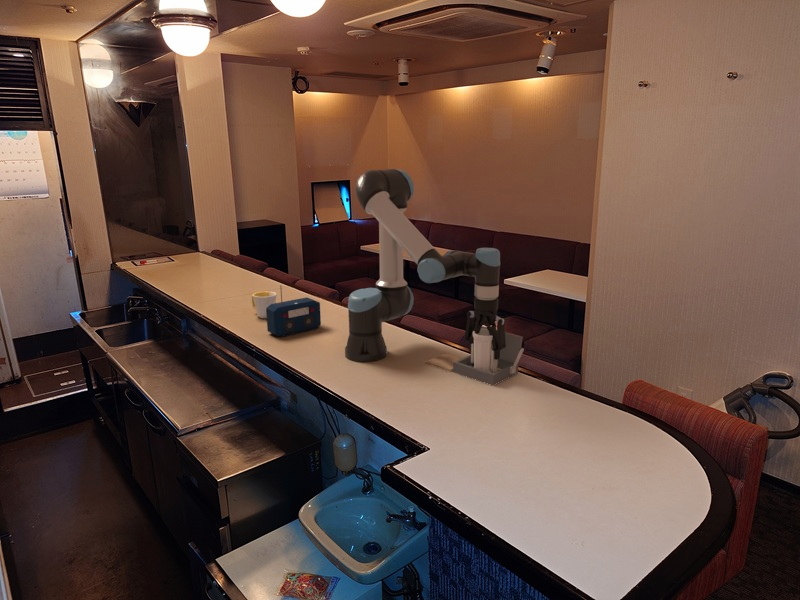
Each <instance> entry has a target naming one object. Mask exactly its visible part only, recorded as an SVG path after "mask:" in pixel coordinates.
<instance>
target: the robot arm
mask: <svg viewBox="0 0 800 600" xmlns="http://www.w3.org/2000/svg"><path fill="white" fill-rule="evenodd" d="M354 193H355V197H356V200H357V202H358V204H359V205H360V207H361V208H362V209H363V211H364V212H365V214H368V215H372V216H373V217H374V218H375V219H376V220H377V221H378V228H379V229H378V231H379V232H378V233H379V234H378V237H379V240H378V242H379V245H378V246H379V250H378V251H379V279H378V280H377V281H376V282H375V287H366V288H360V289H357V290H354V291H352V292H351V293H350V294H349V296H348V303H347V309H348V310H347V311H348V333H349V334H348V337H347V340H346V341H347V342H346V346H345V348H344V355H345V358H346V359H348V360H351V361H355V362H362V363H363V362H364V363H365V362H367V363H368V362H375V361H379V360H382V359H384V358H385V357H386V356H387V355H388V348H387V345H386V342H385V339H384V335H383V333H382V332H383V329H382V328H383V327H382V325H383V324H382V323H385V322H388V321H391V320H395V319H399V318H402V317H403V316H405V315H407V314H408V313H409V312H410V311H411V310H412V308H413V306H414V300H415V299H414V298H415V297H414V294H413V291H412V290H411V288H410V287H409V286H408V282H407V281H406V280H405V279H404V252H405V253H406V255H408V256H409V257H410V259H412V261H413V262H414V263H415V264H416V265H417V273H418V277H419V279H420V280H421V281H422V282H424V283H426V284H433V283H434V284H435V283H440V282H441V281H444V280H449V279H452V278H456V277H460V276H465V277H466V276H467V277H472V278H474V300H473V301H474V302H473V304H474V305H473V307H474V310H469V311H467V312H466V318H467V319H466V324H465V325H466V326H465V333H464V340H465V341H468V343H469V352H470V355H471V363H474V338H473V331H475V334H478V333H479V332H480V330H481V327H482V326H483V327H487V330H489V334H490V336H491V335H492V336H493V338H492V345H493V349H492V350H491V368H490V369H493V370H495V369H497V368H496V367H497V362H498V359H499V358H500V350H501V349H504V348H506V341H505V332H506V329H505V328H506V327H505V325H506V321H507V320H506V318H505V317H503V318H502V317H500V316H499V315H498V309H499V298H498V297H499V291H500V290H499V289H500V270H501V269H500V268H501V252H500V250H499V249H497V248H494V247H480V248H479V247H478V248H477V249H476V251H475V253H474V252H467V251H461V250H458V249H457V250H451V249H449V250H447V251H446V252H445V253H444V254H443V255H442V254H441V253H440V252H439V251H438V250H437V249H436V248H435V247H434V246H433V245H432V244H431V243H430V241H428V239H427V238H426V237H425V236H424V234H422V233H421V232H420V231H419V230H418V228H416V226H415V225H414V224H413V223H412V222H411V221H410V220H409V219H408V217H406V215H405V214H404V213H405V212H406V211H407V210H408V202H409V201H410V200H411V199H412V197H413V196H414V193H415V186H414V181H413V179H412V177H411V176H410V175H409V173H407V172H406V171H405V170H403V169H395V168H387V169H386V168H385V169H369V170H367V171H365V172H363V173H361V174H360V176H359V177H358V178H357V180H356V183H355V187H354ZM475 319H476V320H475Z"/></svg>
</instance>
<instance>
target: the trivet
mask: <svg viewBox="0 0 800 600" xmlns="http://www.w3.org/2000/svg"><path fill="white" fill-rule="evenodd" d="M462 358H463V357H462ZM462 358H461V357H458V356H455V355H452V354H448V353H443V354H440V355H438V356H435V357H433V358H430V359H428V360H426V361H425V360H424V363H425V364H426V365H430V366H432V367H436V368H439V369H440V370H444V371H447V372H453V362H455V361H457V360H460V359H462Z"/></svg>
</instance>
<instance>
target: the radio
mask: <svg viewBox="0 0 800 600" xmlns="http://www.w3.org/2000/svg"><path fill="white" fill-rule="evenodd" d="M279 287H280V299H281V300H280V301H281V302H276V303H274V304H271V305H269V306H268V307H267V308H266V315H267V318H266V326H267V332H269V333H270V334H272V335H275V336H276V337H279V338H283V337H287V336H291V335H296V334H300V333H304V331H305V332H308V330H309V331H313V330H317V329H318V328H319V327H320V326H321V325H322V322H321V321H322V320H321V303H320V302H319V301H318V300H315V299H312V298H309V297H302V298H296V299H291V300H285V301H283V294H282V293H283V292H282V284H280V285H279ZM316 328H317V329H316ZM312 329H313V330H312Z"/></svg>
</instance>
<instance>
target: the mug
mask: <svg viewBox="0 0 800 600" xmlns="http://www.w3.org/2000/svg"><path fill="white" fill-rule="evenodd" d="M274 303H277V292H274V291H257V292H254V293H253V294H252V296H251V304H252V309H254V310H255V313H256V315H257V316H258V318H260V319H267V315H266V308H267V307H268V306H269V305H271V304H274Z"/></svg>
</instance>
